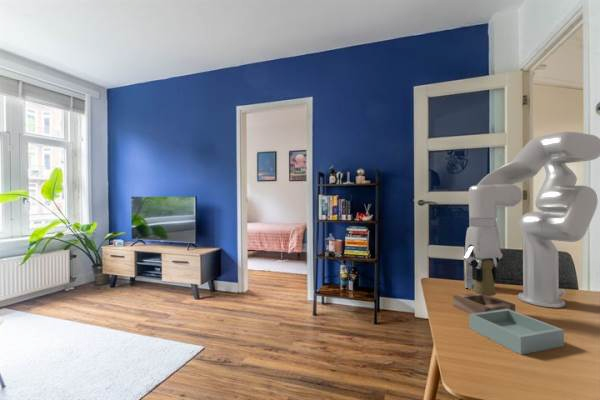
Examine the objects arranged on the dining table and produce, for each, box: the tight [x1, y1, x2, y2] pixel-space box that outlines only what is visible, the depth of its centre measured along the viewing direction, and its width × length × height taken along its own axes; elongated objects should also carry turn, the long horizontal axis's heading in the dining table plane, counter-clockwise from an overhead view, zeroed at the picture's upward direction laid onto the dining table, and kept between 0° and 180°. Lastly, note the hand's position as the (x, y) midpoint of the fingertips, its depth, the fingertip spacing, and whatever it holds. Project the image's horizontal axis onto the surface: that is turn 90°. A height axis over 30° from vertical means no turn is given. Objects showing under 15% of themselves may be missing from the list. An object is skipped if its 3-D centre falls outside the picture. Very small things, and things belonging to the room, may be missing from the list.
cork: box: [473, 259, 497, 297], centre depth 92 cm, size 6×6×11 cm
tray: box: [468, 309, 565, 355], centre depth 74 cm, size 14×14×4 cm
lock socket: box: [452, 292, 516, 314], centre depth 91 cm, size 12×12×4 cm
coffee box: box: [463, 245, 475, 290], centre depth 117 cm, size 9×6×16 cm
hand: (484, 278), depth 92 cm, fingers closed on cork, 4 cm apart
